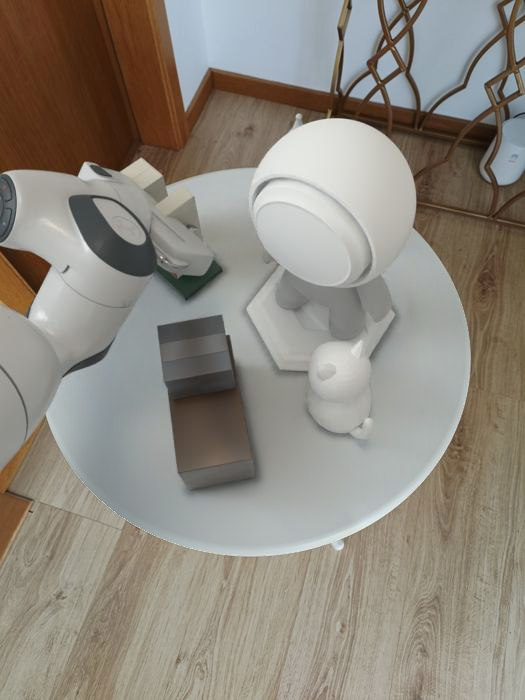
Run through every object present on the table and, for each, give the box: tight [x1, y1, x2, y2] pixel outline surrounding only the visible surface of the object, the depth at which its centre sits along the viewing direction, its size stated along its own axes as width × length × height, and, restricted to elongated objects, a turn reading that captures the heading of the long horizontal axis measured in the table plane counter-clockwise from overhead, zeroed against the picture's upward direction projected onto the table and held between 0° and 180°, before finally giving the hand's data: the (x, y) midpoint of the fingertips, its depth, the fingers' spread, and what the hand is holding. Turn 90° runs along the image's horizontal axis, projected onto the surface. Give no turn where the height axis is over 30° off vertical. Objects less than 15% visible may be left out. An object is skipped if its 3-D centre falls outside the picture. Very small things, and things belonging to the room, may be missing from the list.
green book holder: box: [119, 157, 224, 302], centre depth 82 cm, size 8×15×15 cm, turn 44°
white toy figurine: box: [245, 117, 417, 373], centre depth 67 cm, size 20×23×35 cm
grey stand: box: [156, 314, 256, 491], centre depth 69 cm, size 9×17×16 cm, turn 11°
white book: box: [155, 185, 204, 279], centre depth 79 cm, size 6×2×14 cm, turn 134°
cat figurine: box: [305, 340, 376, 440], centre depth 69 cm, size 9×12×15 cm
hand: (187, 225), depth 78 cm, fingers closed on white book, 2 cm apart
